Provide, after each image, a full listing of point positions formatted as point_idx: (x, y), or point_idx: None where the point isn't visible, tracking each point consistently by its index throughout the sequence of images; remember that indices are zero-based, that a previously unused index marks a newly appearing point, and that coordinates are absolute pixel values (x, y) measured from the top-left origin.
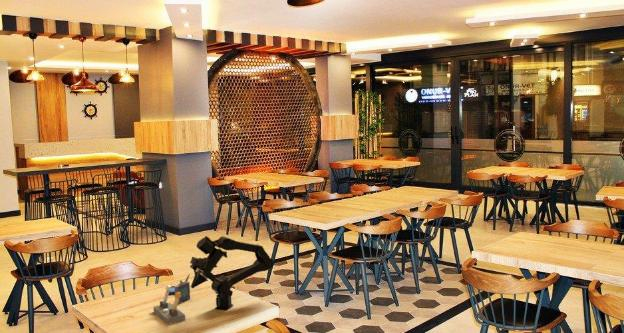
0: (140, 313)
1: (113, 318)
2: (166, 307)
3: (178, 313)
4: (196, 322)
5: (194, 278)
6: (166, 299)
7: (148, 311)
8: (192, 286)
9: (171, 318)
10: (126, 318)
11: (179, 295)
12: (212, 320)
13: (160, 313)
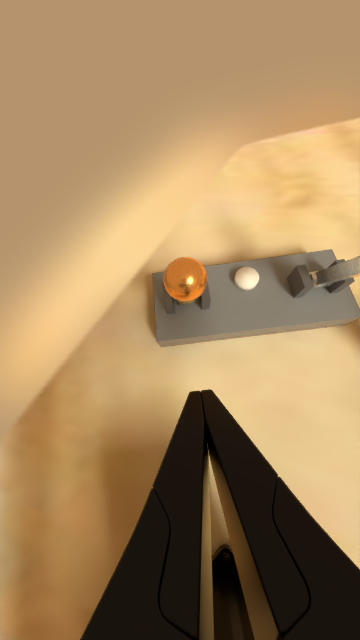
0: (319, 225)
1: (303, 164)
2: (292, 290)
3: (189, 321)
4: (108, 380)
5: (268, 527)
6: (332, 277)
7: None
8: (187, 408)
9: (153, 287)
10: (286, 190)
11: (164, 284)
12: (82, 455)
13: (237, 263)
